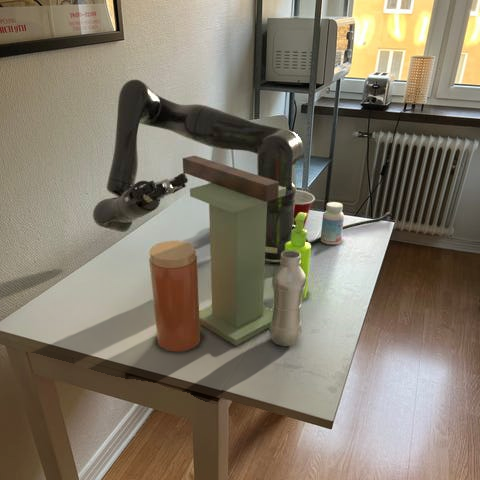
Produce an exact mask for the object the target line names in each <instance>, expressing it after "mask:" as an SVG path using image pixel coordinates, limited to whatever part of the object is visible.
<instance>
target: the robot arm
mask: <svg viewBox="0 0 480 480" xmlns="http://www.w3.org/2000/svg"><path fill="white" fill-rule="evenodd" d="M117 102H118V103H117V115H116V129H115V140H114V148H113V156H112V160H111V165H110V169H109V173H108V179H107V183H106V190H107V191H108V192H109V193H110V194H111V195H114V196H115V197H109V198H105V199H102V200H100V201H99V202H98V203H97V204H96V205H95V206H94V208H93V211H92V218H93V221H94V223H95V224H96V225H97V226H99V227H101V228H104V229H109V230H111V231H116V232H120V233H125V232H128V231H129V230H130V229H131V227H132V226H133V222H134V221H136V220H137V219H140V218H143V217H145V216H146V215H148V214H150V213H152V212H153V211H156V209H157V208H158V207H159V206H160V203H161V200H162V199H164V198H165V197H167V196H169V195H171V194H175V193H177V192H179V191H180V190H182V189H183V188H186V187H187V183H188V182H189V179H188V176H187V174H186V173H183V172H182V173H180V174H178V175H177V176H174V177H173V178H165V179H162V180H160V181H155V180H149V181H148V180H140V181H137V182H136V180H137V179H136V178H137V175H138V167H139V156H138V155H139V154H138V132H139V126H140V124H141V125H143V126H148V127H153V128H158V129H163V130H166V131H171V132H173V133H175V134H177V135H179V136H181V137H184V138H186V139H188V140H191V141H194V142H196V143H199V144H201V145H205V146H208V147H210V148H215V149H219V150H220V149H221V150H228V151H229V150H231V151H232V150H233V151H245V152H250V153H253V154H256V155H257V157H256V159H257V160H256V168H257V171H256V173H257V174H256V175H258V176H262V177H265V178H268V179H271V180H274V181H278V182H279V186H281V187H284V188H286V195H285V196H282V197H279V198H277V199H274V200H271V201H267V216H266V242H265V263H268V264H280V259H281V253H282V252H283V251H285V244H286V243H287V242H289V241H291V233H292V230H293V229H295V228H296V226H295V225H294V224H293V221H294V206H295V193H296V190H297V189H296V186H295V184H294V183H293V166H295V165H296V164H297V163H298V162H299V161H300V159H301V158H302V156H303V154H304V145H303V142H302V140H301V138H300V136H298V134H296V133H295V132H294V131H292V130H289V129H286V128H281V127H280V128H279V127H275V126H270V125H264V124H260V123H256V122H254V121H250V120H248V119H245V118H243V117H240V116H237V115H234V114H231V113H228V112H226V111H223V110H220V109H217V108H214V107H211V106H208V105H203V104H198V103H197V104H192V103H191V104H180V103H177V102H173V101H171V100H168V99H166V98H164V97H162V96H160V95H158V94H157V93H156V92H155V91H154V90H152V88H151V87H149V86H148V85H147V84H146V83H145V82H143V81H142V80H140V79H130V80H128V81H126V82H125V83H124V84H123V85H122V86H121V89H120V91H119V95H118V101H117ZM165 184H166V186H165ZM387 217H390V218H391V217H393V216H392V214H391V213H390V212H386V213H384V215H383V216H381V217H379V218H374V219H369V220H363V221H358V222H354V223H350V224H346V225H343V229H342V231H343V230H347V229H350V228H354V227H358V226H363V225H369V224H373V223H379V222H381V221H383V220H385V219H386V218H387ZM306 242H307V243H309V244H310V245H313V244H316V243H319V242H321V236H319V237H318V238H315V239H313V240H309V239H308V238H307V237H306Z"/></svg>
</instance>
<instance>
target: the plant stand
mask: <svg viewBox="0 0 480 480" xmlns="http://www.w3.org/2000/svg"><path fill="white" fill-rule="evenodd" d="M285 195H286V188H284V187H281V186H279V190H278V198H279V197H282V196H285ZM189 197H191V198H193V199H196V200H198V201H201V202H203V203H206V204H208V211H209V212H208V215H209V248H210V249H209V251H210V280H211V281H210V283H211V285H210V286H211V287H210V288H211V305H208V306H207V307H204V308H202V309H199V315H200V325H202V326H204V327H205V328H207V329H208V330H210V331H211V332H213V333H215V334H216V335H218V336H219V337H221V338H222V339H223V340H225V341H227V342H229V343H230V344H232V345H233V346H238V345H241V344H242V343H243V342H245V341H247V340H250V339H251V338H253V337H255V336H257V335H258V334H260V333H262V332H264V331H266V330H269V328H270V323H271V320H272V315H273V310H272V309H270V308H269V307H267V306H265V305H264V289H265V265H266V262H265V242H266V216H267V202H265V201H262V200H259V199H256V198H253V197H251V196H248V195H245V194H242V193H239V192H236V191H234V190H231V189H228V188H225V187H222V186H219V185H217V184H214V183H211V182H208V183H206V184H202V185H197V186H195V187H191V188H189Z"/></svg>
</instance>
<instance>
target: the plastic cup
mask: <svg viewBox="0 0 480 480" xmlns="http://www.w3.org/2000/svg"><path fill="white" fill-rule="evenodd" d="M315 200H316V198H315V195H313V194H312V193H310V192H308V191H305V190H300V189H296V193H295V206H294V221H293V224H294V225H295V226H296V222H295V218H296V216H297V214H298V213H299V212H302V213H308V215H307V216H306V218H305V220H304V224H303V229H304V230H305V227H306V223H307V220H308V217H309V213H310V209H311V207H312V204H313V202H314V201H315Z"/></svg>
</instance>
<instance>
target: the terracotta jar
mask: <svg viewBox="0 0 480 480" xmlns="http://www.w3.org/2000/svg"><path fill="white" fill-rule="evenodd" d="M196 251H197V250H196V246H195V245H194V244H191V243H190V242H187V241H183V240H167V241H161V242H159V243H156V244H154V245H153V246H152V247H151V248H150V249H149V259H148V260H149V269H150V271H149V272H150V279H151V290H152V299H153V308H154V319H155V330H156V338H157V343H158V345H159V346H160V347H161V348H162V349H164V350H166V351H170V352H186V351H188V350H191V349H194V348H195V347H196V346H197V345H199V344H200V342H201V324H200V315H199V311H200V299H199V298H200V297H199V295H200V294H199V273H198V272H199V271H198V256H197V253H196Z"/></svg>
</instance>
